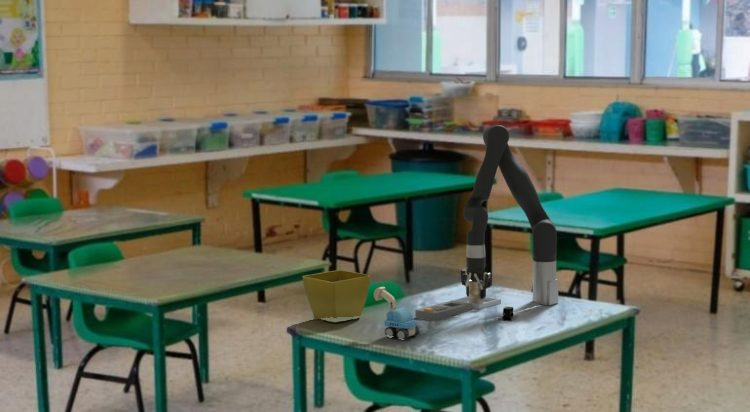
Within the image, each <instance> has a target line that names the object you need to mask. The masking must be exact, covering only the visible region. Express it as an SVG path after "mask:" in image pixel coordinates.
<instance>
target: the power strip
mask: <svg viewBox="0 0 750 412" xmlns="http://www.w3.org/2000/svg"><path fill="white" fill-rule="evenodd" d="M471 310H473V308H472V304H470V303H464V302H458V301H451V300H449V301H448V300H447V301H446V302H445V301H444V302H441V303H436V304H433V305H430V306H426V307H421V308H418V309H415V310H414V311H415V314H414V315H415V316H414V317H418V318H417V319H420V318H422V320H426V321H433V322H437V321H442V320H445V319H446V320H447V319H449V318H453V317H456V316H458V314H461V313H464V312H465V313H466V312H467V311H471Z"/></svg>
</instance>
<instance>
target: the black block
mask: <svg viewBox="0 0 750 412" xmlns="http://www.w3.org/2000/svg"><path fill="white" fill-rule="evenodd" d="M518 317H519V315H514V306H504V307H503V310H502V316H501V317H500V318H498V319H497V321H502V322H503V321H504V322H513V321H514V320H516V319H517V318H518Z"/></svg>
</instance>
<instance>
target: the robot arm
mask: <svg viewBox="0 0 750 412" xmlns="http://www.w3.org/2000/svg"><path fill="white" fill-rule="evenodd" d="M482 139H483V143H484V145H485V147H486V148H485V149H486V150H485V154H484V157H483V161H482V163H481V165H480V168H479V170H478V173H477V175H476V177H475V181H474V184H473V189H472V192H471V194H470V196H469V197H468V200H467V201H466V203H465V206H464V208H463V212H462V213H463V215H462V216H463V218H464V220H465V221H466V222H468V223H472V227H471V229H468V230H467V231H466V249H465V253H466V254H465V257H466V258H465V262H466V264H465V267H466V269H462V270H460V279H461V280H460V281H461V285H462V286H465V294H466V296H467V297H469V282H470V281H476V282H477V283H478V284H479V285H480V288H481V290H480V298H481V299H484V298H485V297H487V289H489V288H491V286H492V273H491V272H486V271H485V268H486V245H485V242H486V241H485V239H486V238H485V237H486V236H485V233H486V230H487V227H488V221H489V213H488V210H487V208H485V207H484V206H482V205H483V204H484V202H485V201H488V200H489V199H490V196H491V192H492V188H493V186H494V182H495V177H496V174H497V170H498V168H499V171H500V173H501V175H502V177H503V179H504V180H505V181H504V182H505V183H506V186H507V188H508V189H509V192H510V193H511V195H512V197H513V198H514V200H515V202H516V203H517V205H518V206H519V207H520V209H522V211H523V212H524V214H525V216H526V218H527V220H528V223H529V226H530V228H531V231H532V302H533V303H536V304H539V305H540V306H552V305H556V304H559V279H557V249H558V248H557V247H558V246H557V242H558V241H557V240H558V239H557V238H558V237H557V236H558V234H557V233H558V232H557V228H556V226H555V224H554V222H553V221H552V220H551V218H550V217H549V215H548V214H547V212H546V211H545V209H544V207H543V206H542V203H541V201H540V197H539V195H538V193H537V189H536V187H535V185H534V183H533V181H532V179H531V178H530V175H529V173H528V172H527V170H526V169H525V168H524V166H523V165H522V164H521V163H520V161H518V159H517V158H516V157H515V155H514V154H513V152H512V150H511V148H510V146H509V143H508V142H509V140H510V133H509V130H508V129H507V127H505V126H504V125H500V124H497V125H496V124H495V125H490V126H489V127H487V128H486V129H485V130H484V132H483V135H482Z"/></svg>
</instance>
